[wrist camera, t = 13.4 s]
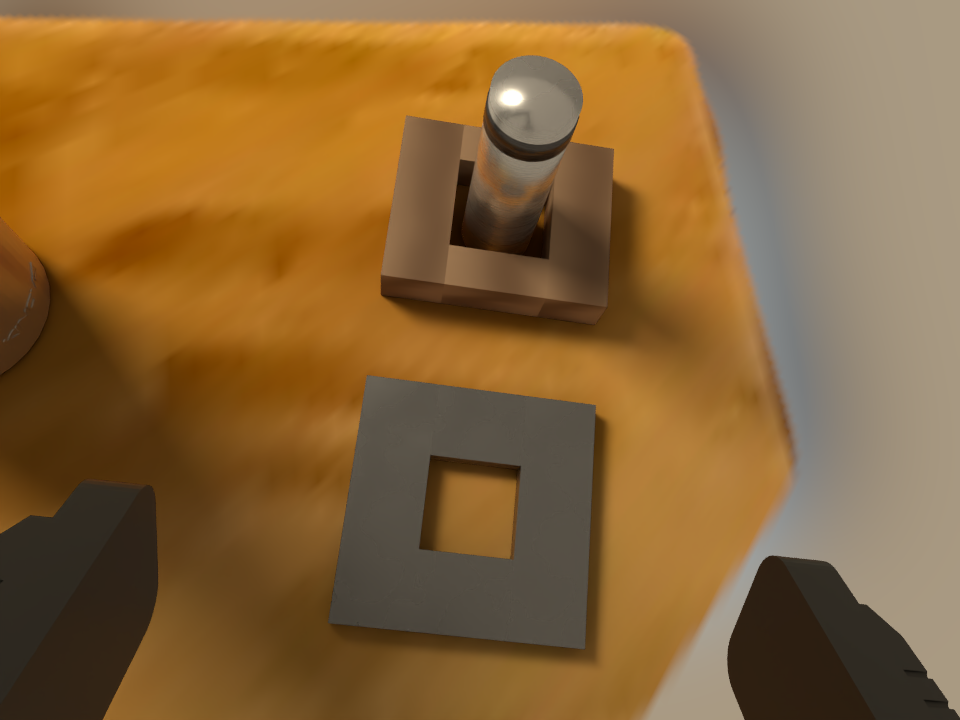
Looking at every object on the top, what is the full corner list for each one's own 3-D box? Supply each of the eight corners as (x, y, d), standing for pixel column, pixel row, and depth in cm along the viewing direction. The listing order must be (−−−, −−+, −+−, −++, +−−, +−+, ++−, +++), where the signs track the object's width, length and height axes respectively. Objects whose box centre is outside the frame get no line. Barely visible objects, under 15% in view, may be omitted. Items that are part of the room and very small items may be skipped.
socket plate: (329, 623, 35) (327, 623, 34) (367, 381, 39) (366, 375, 38) (579, 648, 36) (584, 649, 35) (590, 410, 40) (595, 405, 39)
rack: (380, 294, 41) (381, 274, 38) (404, 142, 44) (406, 115, 42) (594, 324, 42) (607, 307, 39) (601, 173, 45) (613, 149, 43)
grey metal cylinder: (457, 258, 42) (485, 125, 31) (464, 196, 43) (494, 47, 32) (528, 269, 42) (581, 141, 31) (533, 207, 44) (586, 63, 32)
